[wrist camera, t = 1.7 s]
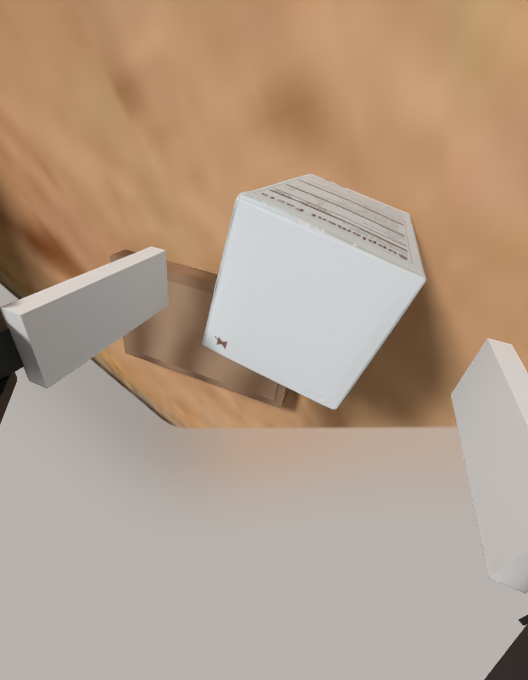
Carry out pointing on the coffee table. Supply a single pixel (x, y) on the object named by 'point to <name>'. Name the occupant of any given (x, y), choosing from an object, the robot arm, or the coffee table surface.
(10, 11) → the coffee table surface
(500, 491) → the robot arm
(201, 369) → the walnut board
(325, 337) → the supplement box
